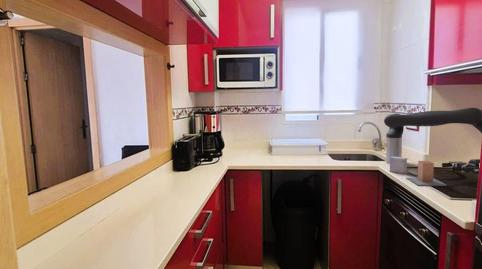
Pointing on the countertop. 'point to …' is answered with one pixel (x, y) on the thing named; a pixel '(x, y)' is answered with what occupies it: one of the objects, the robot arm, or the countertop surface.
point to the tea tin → (425, 171)
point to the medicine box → (398, 164)
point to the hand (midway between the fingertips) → (446, 166)
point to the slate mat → (419, 183)
